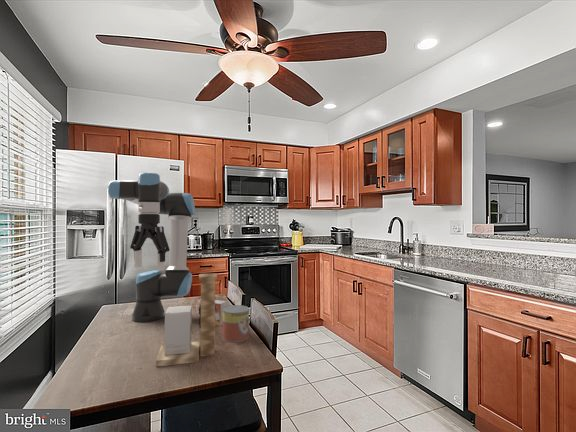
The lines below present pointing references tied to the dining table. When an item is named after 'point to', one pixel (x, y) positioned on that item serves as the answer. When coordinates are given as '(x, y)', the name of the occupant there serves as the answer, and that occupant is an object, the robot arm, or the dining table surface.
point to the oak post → (207, 313)
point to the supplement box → (178, 330)
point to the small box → (219, 311)
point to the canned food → (235, 323)
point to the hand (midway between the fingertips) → (149, 268)
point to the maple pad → (178, 356)
